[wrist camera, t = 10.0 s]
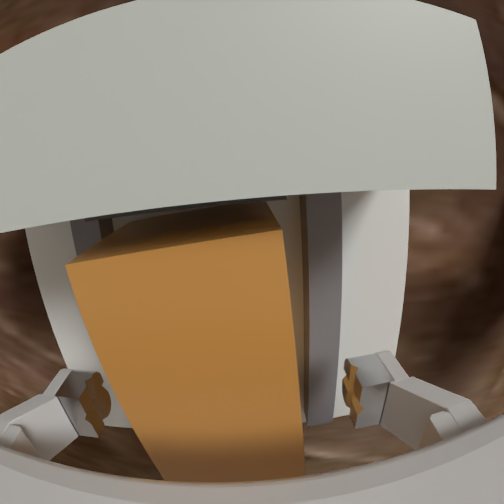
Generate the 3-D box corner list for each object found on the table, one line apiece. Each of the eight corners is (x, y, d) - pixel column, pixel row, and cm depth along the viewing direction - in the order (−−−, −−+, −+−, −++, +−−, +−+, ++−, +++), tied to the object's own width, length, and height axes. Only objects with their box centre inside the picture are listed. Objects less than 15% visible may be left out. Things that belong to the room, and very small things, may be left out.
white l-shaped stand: (372, 384, 16) (426, 490, 9) (105, 402, 16) (60, 505, 9) (380, 81, 12) (502, 30, 4) (37, 123, 12) (-91, 119, 4)
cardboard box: (290, 408, 14) (306, 491, 9) (190, 418, 14) (178, 500, 9) (264, 198, 11) (282, 229, 6) (130, 221, 11) (65, 264, 6)
